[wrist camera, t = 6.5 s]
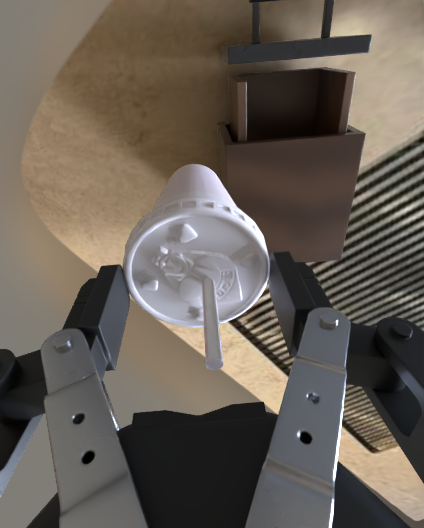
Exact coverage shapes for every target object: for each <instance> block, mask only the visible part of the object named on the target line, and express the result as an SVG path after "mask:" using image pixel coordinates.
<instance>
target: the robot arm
mask: <svg viewBox="0 0 424 528" xmlns="http://www.w3.org/2000/svg"><path fill="white" fill-rule="evenodd" d="M269 291H270V296H271V299H272V302H273V305H274V308H275V311H276V314H277V318H278V321H279V324H280V327H281V330H282V333H283V336H284V339H285V342H286V345H287V349H288V352H289V355H290V356H292V355H297V356H295V358H294V361H293V365H292V368H291V372H290V375H289V379H288V382H287V386H286V389H285V393H284V396H283V400H282V404H281V407H280V411H279V414H278V415H277V414H273V413H269V412H266V411H265V405H264V402H255V403H243V404H232V405H229V406H226V407H223V408H220V409H218V410H215V411H212V412H209V413H206V414H203V415H191V414H185V413H179V412H173V411H167V410H163V411H152V412H140V413H134V414H133V421H132V424H131V425H128V426H126V427H124V428H121V429H120V427H119V424H118V422H117V419H116V416H115V413H114V410H113V407H112V404H111V402H110V399H109V396H108V393H107V390H106V388H105V385H104V382H103V376H104V373H105V371H110V370H115V368H116V363H117V359H118V355H119V350H120V346H121V341H122V337H123V333H124V329H125V324H126V320H127V316H128V311H129V307H130V296H129V291H128V288H127V285H126V281H125V278H124V273H123V269H122V266H121V265H120V264H119V265H107V266H101V268H100V270H99V273H98V276H97V278H92V279H89V280H88V281H87V282H86V283H85V284H84V285H83V286H82V287H81V289H80V291H79V293H78V295H77V298H76V300H75V302H74V305H73V306H72V309H71V311H70V313H69V315H68V318H67V320H66V322H65V324H64V327H63V329H62V330H60V331H58V332H56V333H54V334H52V335H51V336H50V337H48V338H47V339H46V340H45V341H44V343H43V345H42V347H41V349H40V350H37V351H35V352H31V353H28V354H25V355H22V356H19V357H15V356H14V354H13V353H12V352H11V351H10V350H7V349H0V497H1V495H2V493H3V491H4V489H5V487H6V485H7V484H8V482H9V480H10V478H11V476H12V474H13V472H14V470H15V468H16V466H17V464H18V462H19V460H20V458H21V456H22V454H23V453H24V451H25V449H26V447H27V445H28V443H29V441H30V439H31V437H32V435H33V433H34V431H35V429H36V427H37V425H38V423H39V421H40V419H41V418H42V415H43V414H44V413H46V420H47V426H48V432H49V439H50V445H51V452H52V458H53V464H54V470H55V477H56V483H57V489H58V492H57V493H56V494H55V496H54V497H53V498H52V499H51V500H50V501H49V502H48V504H47V505H46V506H45V507H44V508H43V509H42V510H41V511H40V513H39V514H38V515H37V516H36V517H35V518H34V519H33V521H32V522H31V523H30V524H29V525H28V527H27V528H411V527H409V526H408V525H407V524H406V523H405V522H404V521H403V520H402V519H401V518H400V517H399V516H397V515H396V514H395V513H394V512H393V511H392V510H391V509H390V508H389V507H388V506H387V505H385V504H384V503H383V502H382V501H381V500H380V499H379V498H378V497H377V496H376V495H375V494H373V493H372V492H371V491H370V490H369V489H368V488H367V487H366V486H365V485H364V484H363V483H361V482H360V481H359V480H358V479H357V478H356V477H355V476H354V475H353V474H351V473H350V472H349V471H348V470H347V469H346V468H345V467H344V466H343V465H342V464H341V463H340V462H339V461H337V458H338V449H339V440H340V432H341V423H342V414H343V405H344V397H345V388H346V384H351V385H355V386H360V387H362V388H363V390H364V391H365V393H366V394H367V396H368V397H369V399H370V401H371V402H372V404H373V405H374V407H375V408H376V410H377V412H378V413H379V415H380V416H381V418H382V419H383V421H384V422H385V424H386V426H387V427H388V429H389V430H390V432H391V433H392V435H393V437H394V438H395V440H396V441H397V443H398V444H399V446H400V447H401V449H402V451H403V452H404V454H405V455H406V457H407V458H408V460H409V461H410V463H411V465H412V466H413V468H414V469H415V471H416V472H417V474H418V476H419V477H420V479H421V480H422V482H423V483H424V332H423V331H422V330H421V329H420V328H419V327H418V326H417V325H415V324H414V323H412V322H410V321H408V320H405V319H402V318H397V317H387V318H384V319H382V320H380V321H379V323H378V325H377V327H373V326H367V325H360V324H355V323H352V322H350V321H349V319H348V317H347V316H346V315H345V314H343V313H342V312H340V311H339V310H336V309H333V307H332V305H331V303H330V301H329V300H328V298H327V296H326V294H325V292H324V290H323V289H322V287H321V285H320V283H319V281H318V280H317V278H316V276H315V274H314V272H313V270H312V269H311V268H310V267H309V266H308V265H306V264H305V263H304V262H295V261H294V259H293V257H292V255H291V253H290V252H289V251H284V252H272V253H271V255H270V271H269Z"/></svg>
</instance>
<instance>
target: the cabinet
mask: <svg viewBox="0 0 424 528" xmlns="http://www.w3.org/2000/svg"><path fill="white" fill-rule="evenodd" d="M217 125H218V143H219V161H220V180H221V183H222V184H223V186H224V188H225V189H226V191H227V192H228V194H229V195H230V197H231V198H232V200H233V202H234V203H235V205H236V206H237V208H238V209H240V210H241V211H243V212H244V213H245V214H246V215H247V216H248V217H250V218H251V219H252V220H253V221H254V222H255V224H256V225H257V227H258V228H259V230H260V231H261V233H262V234H263V236H264V240H265V244H266V248H267V251H268V255H269V260H270V255H271V253H272V252H284V251H289V252H290V253H291V255H292V257H293V259H294V261H295V262H304V263H307V262H319V261H330V260H341V257H342V252H343V247H344V242H345V237H346V231H347V226H348V221H349V216H350V211H351V206H352V201H353V196H354V191H355V186H356V181H357V176H358V171H359V166H360V161H361V156H362V151H363V145H364V140H365V135H366V133H364V132H361V131H360V130H358V129H356V128H354V127H352V126H350V125H348V124H347V131H346V133H338V134H327V135H315V136H304V137H292V138H280V139H269V140H257V141H245V142H234V143H233V142H232V139H231V137H230V123H219V124H217Z"/></svg>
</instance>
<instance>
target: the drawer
mask: <svg viewBox="0 0 424 528" xmlns="http://www.w3.org/2000/svg"><path fill="white" fill-rule="evenodd" d="M267 1H279V0H249V2H250V3H252V44H241V45H229V46H220V59H221V61H223V62H225V63H227V64H240V63H252V62H264V61H276V60H288V59H300V58H312V57H323V56H335V55H347V54H359V53H368V52H369V49H370V43H371V38H372V35H354V36H338V37H330V30H331V21H332V13H333V4H334V0H325V3H324V12H323V22H322V32H321V38H313V39H301V40H289V41H277V42H265V43H260V2H267ZM355 76H356V72H351V71H345V70H339V69H333V68H326V67H323V68H311V69H299V70H287V71H275V72H263V73H251V74H240V75H229V76H228V81H229V111H230V137H231V139H232V142H233V143H234V142H245V141H257V140H269V139H280V138H292V137H304V136H315V135H327V134H338V133H346V131H347V124H348V118H349V112H350V106H351V100H352V94H353V88H354V82H355Z"/></svg>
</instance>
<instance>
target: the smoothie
mask: <svg viewBox="0 0 424 528" xmlns="http://www.w3.org/2000/svg"><path fill="white" fill-rule="evenodd" d="M269 271H270V260H269V255H268V251H267V248H266V244H265V240H264V236H263V234H262V233H261V231H260V230H259V228H258V227H257V225H256V224H255V222H254V221H253V220H252V219H251V218H250V217H248V216H247V215H246V214H245V213H244V212H243V211H241V210H240V209H238V208H237V206H236V205H235V203H234V202H233V200H232V198H231V197H230V195H229V194H228V192H227V191H226V189H225V188H224V186H223V184H222V183H221V181H220V180H219V178H218V177H217V175H216V174H215V173H214V172H213V171H212V170H211V169H209V168H208V167H206V166H203V165H199V164H189V165H185V166H183V167H181V168H179V169H177V170H176V171H175V172H174V173H173V174H172V176H171V177H170V179H169V181H168V183H167V184H166V186H165V188H164V190H163V192H162V193H161V195H160V197H159V199H158V201H157V202H156V204H155V206H154V208H153V209H152V211H151V212H149V213H148V214H146V215H145V216H143V218H142V219H141V220H140V221H139V222H138V223H137V225H136V226H135V227H134V228H133V229H132V231H131V233H130V236H129V238H128V241H127V243H126V245H125V255H124V259H123V273H124V278H125V281H126V285H127V288H128V291H129V293H130V295H131V296H132V298H133V299H134V301H135V302H136V303H137V304H138V305H139V306H140V307H141V308H142V309H143V310H145V311H146V312H147V313H149V314H150V315H152V316H153V317H155V318H157V319H159V320H161V321H164V322H167V323H170V324H173V325H178V326H184V327H204V335H205V354H206V366H207V368H209V369H211V370H217V369H220V368H221V367H222V366H223V357H222V348H221V338H220V329H219V324H221V323H224V322H226V321H229V320H231V319H234V318H235V317H237V316H239V315H241V314H242V313H244V312H245V311H246V310H248V309H249V308H250V307H251V306H252V305H253V304H254V303H255V302H256V301H257V300H258V299H259V297H260V296H261V294H262V293H263V291H264V289H265V287H266V285H267V282H268V278H269Z"/></svg>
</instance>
